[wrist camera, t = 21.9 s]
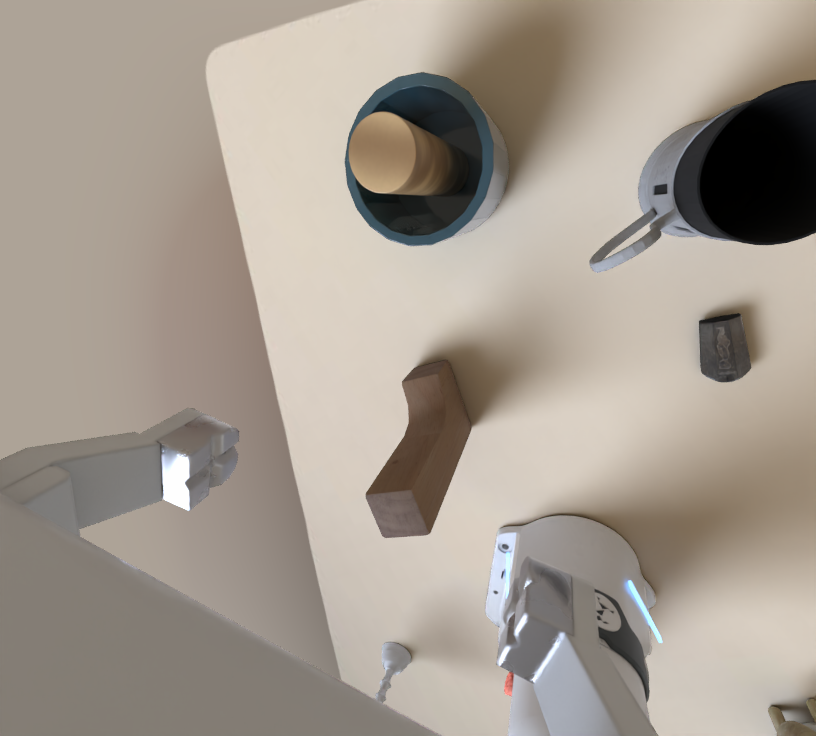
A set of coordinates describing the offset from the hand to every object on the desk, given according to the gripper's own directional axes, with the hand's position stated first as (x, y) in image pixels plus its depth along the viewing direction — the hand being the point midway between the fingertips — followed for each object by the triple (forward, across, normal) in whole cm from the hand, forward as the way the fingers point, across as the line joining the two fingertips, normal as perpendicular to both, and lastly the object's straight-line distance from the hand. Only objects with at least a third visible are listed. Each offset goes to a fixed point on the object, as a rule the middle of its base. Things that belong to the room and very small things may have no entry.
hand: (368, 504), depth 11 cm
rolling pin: (+34, -9, +8) cm, 36 cm away
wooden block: (+35, -3, -15) cm, 39 cm away
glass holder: (+35, +10, +10) cm, 38 cm away
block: (+35, +20, 0) cm, 40 cm away
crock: (+35, -9, +8) cm, 37 cm away
